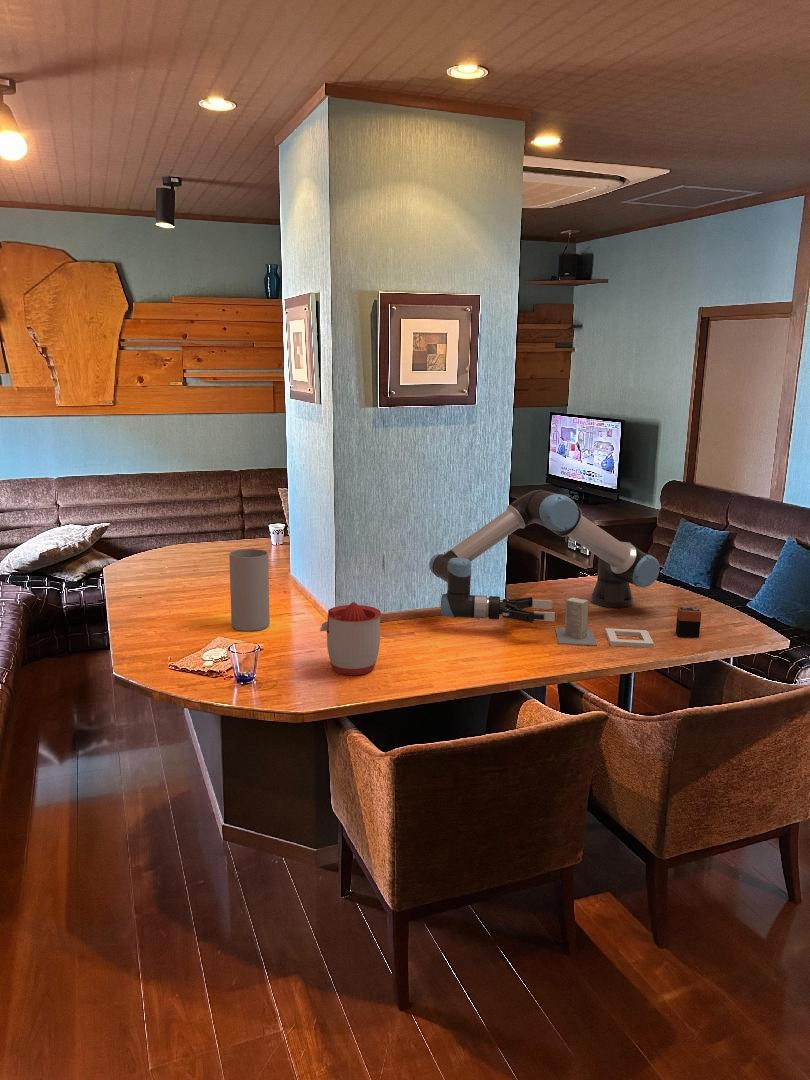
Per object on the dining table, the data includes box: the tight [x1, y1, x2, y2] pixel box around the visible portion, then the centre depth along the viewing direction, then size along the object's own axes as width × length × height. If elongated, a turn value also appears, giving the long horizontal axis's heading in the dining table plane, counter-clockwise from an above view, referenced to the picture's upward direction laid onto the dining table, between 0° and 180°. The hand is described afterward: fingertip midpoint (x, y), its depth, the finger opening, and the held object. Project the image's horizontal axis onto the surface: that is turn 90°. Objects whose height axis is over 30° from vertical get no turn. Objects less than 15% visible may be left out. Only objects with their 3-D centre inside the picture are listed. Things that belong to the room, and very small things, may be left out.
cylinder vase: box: [228, 548, 271, 632], centre depth 267 cm, size 12×12×25 cm
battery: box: [675, 605, 702, 639], centre depth 267 cm, size 4×7×10 cm, turn 85°
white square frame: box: [604, 627, 655, 649], centre depth 262 cm, size 13×13×2 cm
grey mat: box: [554, 626, 598, 647], centre depth 264 cm, size 16×12×1 cm
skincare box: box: [564, 596, 589, 639], centre depth 263 cm, size 6×4×12 cm
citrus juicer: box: [319, 601, 382, 676], centre depth 231 cm, size 16×17×20 cm
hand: (553, 610), depth 263 cm, fingers open, 13 cm apart
